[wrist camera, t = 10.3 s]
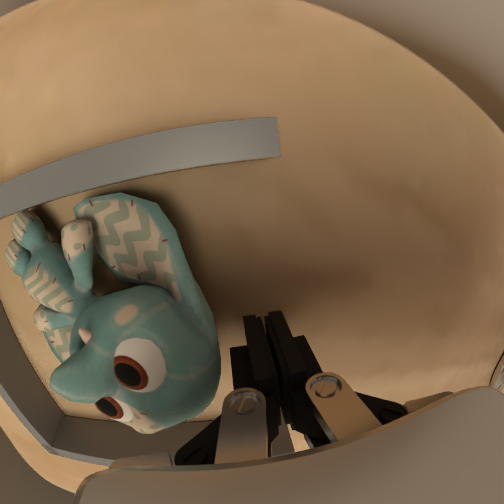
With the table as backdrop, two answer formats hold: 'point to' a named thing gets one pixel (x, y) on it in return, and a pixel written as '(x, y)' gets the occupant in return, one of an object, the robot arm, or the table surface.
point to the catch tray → (87, 178)
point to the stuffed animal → (121, 312)
